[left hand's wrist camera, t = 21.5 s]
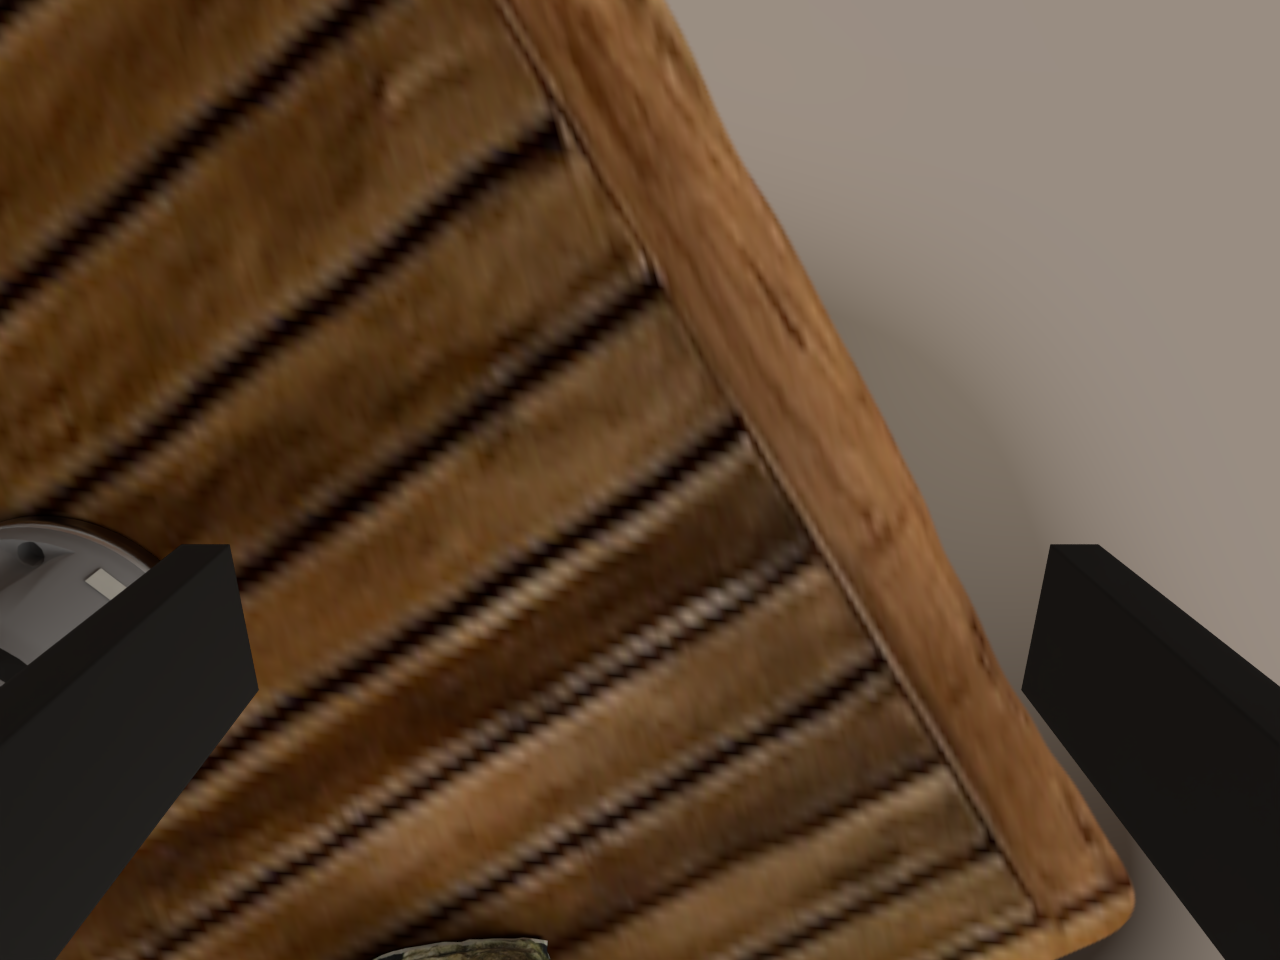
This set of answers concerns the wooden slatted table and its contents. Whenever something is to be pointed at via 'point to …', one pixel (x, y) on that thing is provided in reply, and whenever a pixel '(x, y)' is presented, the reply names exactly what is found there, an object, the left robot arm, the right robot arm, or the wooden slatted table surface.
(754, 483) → the wooden slatted table surface
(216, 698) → the left robot arm
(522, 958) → the fossil
